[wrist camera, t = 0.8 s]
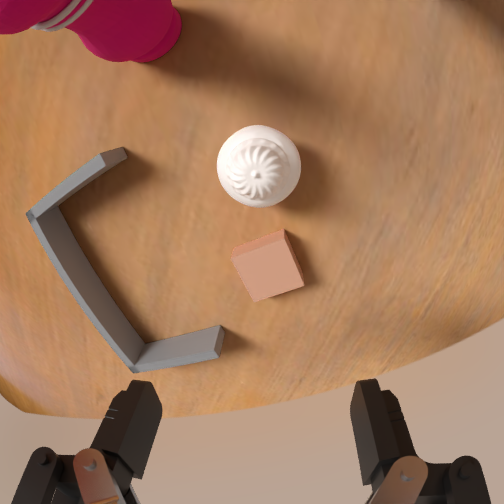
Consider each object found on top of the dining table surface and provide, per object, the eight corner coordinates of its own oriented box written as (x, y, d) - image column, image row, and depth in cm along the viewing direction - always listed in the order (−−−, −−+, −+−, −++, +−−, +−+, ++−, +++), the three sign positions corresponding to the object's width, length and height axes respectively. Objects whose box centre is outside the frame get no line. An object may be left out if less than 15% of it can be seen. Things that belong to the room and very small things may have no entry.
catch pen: (122, 146, 24) (99, 153, 21) (224, 332, 33) (219, 357, 29) (47, 201, 27) (25, 213, 24) (143, 351, 36) (133, 373, 32)
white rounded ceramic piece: (221, 127, 23) (200, 132, 17) (294, 121, 22) (302, 123, 16) (229, 197, 26) (213, 226, 20) (299, 193, 25) (307, 220, 19)
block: (283, 227, 27) (284, 238, 25) (302, 271, 29) (304, 285, 27) (234, 246, 28) (230, 258, 26) (255, 287, 30) (254, 302, 28)
